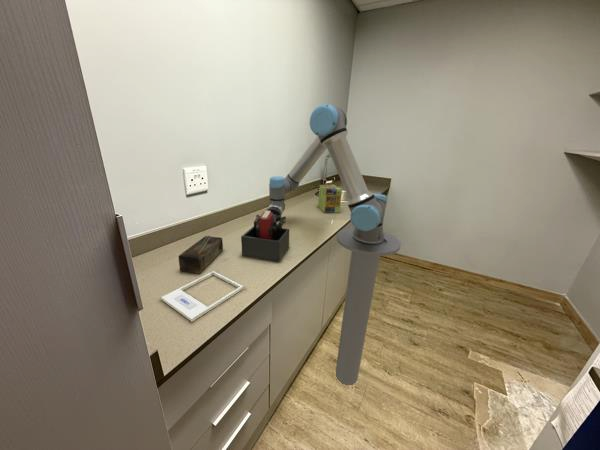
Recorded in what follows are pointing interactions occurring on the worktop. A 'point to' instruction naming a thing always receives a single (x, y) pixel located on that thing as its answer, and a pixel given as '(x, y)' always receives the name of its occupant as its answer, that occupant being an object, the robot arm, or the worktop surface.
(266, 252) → the bin
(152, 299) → the worktop surface
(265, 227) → the block
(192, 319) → the photo frame
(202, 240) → the dark brown wooden block
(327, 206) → the protein box
